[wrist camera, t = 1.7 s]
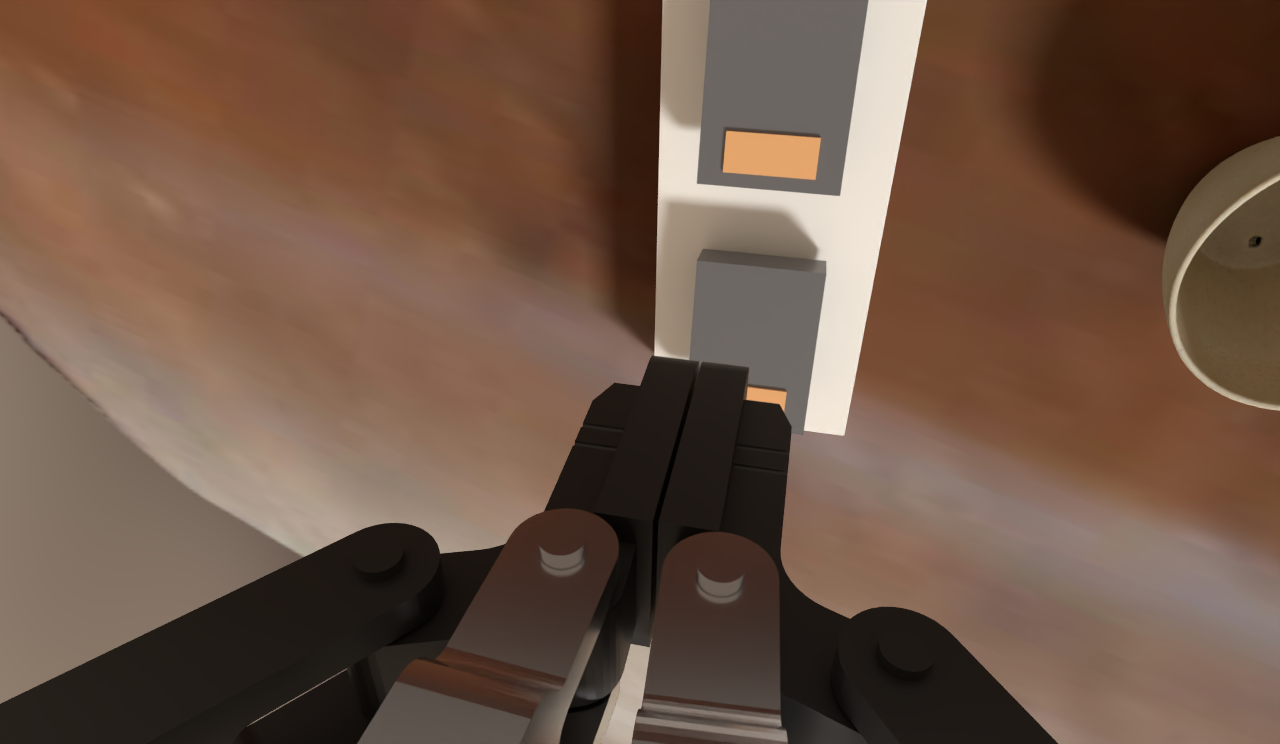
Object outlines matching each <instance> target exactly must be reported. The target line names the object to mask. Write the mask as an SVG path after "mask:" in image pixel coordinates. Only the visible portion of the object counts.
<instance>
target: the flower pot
mask: <svg viewBox="0 0 1280 744" xmlns="http://www.w3.org/2000/svg"><path fill="white" fill-rule="evenodd" d="M1258 237H1260V238H1261V241H1260V243H1259V244H1256V239H1257V238H1258ZM1162 291H1163V302H1164V310H1165V315H1166V320H1167V324H1168V327H1169V331H1170V334H1171V337H1172V340H1173V343H1174V345H1175V348H1176V350H1177V352H1178V354H1179V356H1180V357H1181V359H1182V360H1183V362H1184V363H1185V365H1186V366H1187V367H1188V368H1189V370H1190V371H1191V372H1192V373H1193V374H1194V375H1195V376H1196V377H1197V378H1198V379H1200V380H1201V381H1202V382H1203V383H1204V384H1206V385H1207V386H1208V387H1210V388H1211V389H1213V390H1215V391H1216V392H1218V393H1220V394H1222V395H1223V396H1226V397H1228V398H1230V399H1233V400H1235V401H1238V402H1241V403H1244V404H1248V405H1252V406H1256V407H1259V408H1267V409H1272V410H1280V136H1278V137H1275V138H1271V139H1268V140H1265V141H1262V142H1260V143H1257V144H1255V145H1252V146H1250V147H1248V148H1245V149H1243V150H1241V151H1239V152H1237V153H1236V154H1234V155H1232V156H1231V157H1229V158H1227V159H1226V160H1224V161H1223V162H1221V163H1220V164H1219V165H1217V166H1216V167H1215V168H1214V169H1212V170H1211V171H1210V172H1209V173H1208V174H1207V175H1206V176H1205V177H1204V178H1202V180H1201V181H1200V182H1199V183H1198V184H1197V185H1196V186H1195V188H1194V189H1193V190H1192V191H1191V193H1190V194H1189V195H1188V197H1187V198H1186V200H1185V202H1184V203H1183V205H1182V207H1181V208H1180V210H1179V212H1178V214H1177V216H1176V219H1175V221H1174V223H1173V226H1172V228H1171V231H1170V234H1169V237H1168V240H1167V244H1166V249H1165V253H1164V260H1163V269H1162Z"/></svg>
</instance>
